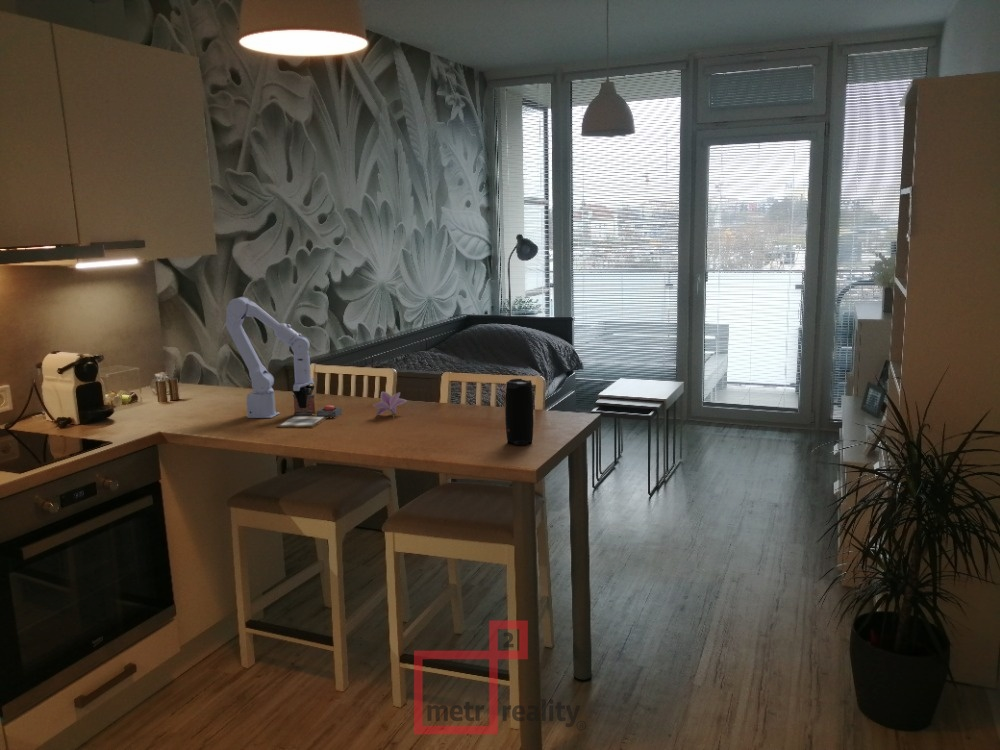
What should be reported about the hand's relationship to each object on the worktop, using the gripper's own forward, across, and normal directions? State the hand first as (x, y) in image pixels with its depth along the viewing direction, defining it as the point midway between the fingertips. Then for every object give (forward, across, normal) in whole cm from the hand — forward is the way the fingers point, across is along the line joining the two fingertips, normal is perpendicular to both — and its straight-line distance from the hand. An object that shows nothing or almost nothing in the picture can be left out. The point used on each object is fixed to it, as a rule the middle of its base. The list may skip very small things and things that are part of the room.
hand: (304, 406), depth 289 cm
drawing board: (+3, -13, -4) cm, 14 cm away
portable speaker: (+3, -37, -83) cm, 91 cm away
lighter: (+3, 0, 0) cm, 3 cm away
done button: (+1, -2, -10) cm, 10 cm away
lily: (+3, -2, -33) cm, 33 cm away
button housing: (+3, -2, -10) cm, 11 cm away
